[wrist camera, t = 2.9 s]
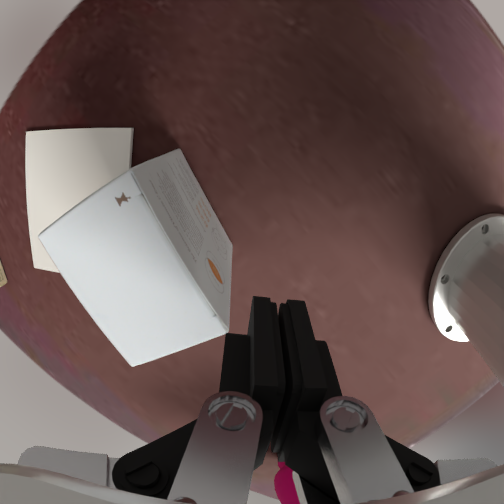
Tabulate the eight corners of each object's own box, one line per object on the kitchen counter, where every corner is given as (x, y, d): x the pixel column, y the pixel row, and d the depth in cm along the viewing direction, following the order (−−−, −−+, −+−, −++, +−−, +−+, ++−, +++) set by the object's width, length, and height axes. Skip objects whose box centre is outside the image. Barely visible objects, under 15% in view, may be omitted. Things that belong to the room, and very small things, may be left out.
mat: (133, 127, 20) (131, 127, 20) (131, 282, 24) (129, 285, 24) (29, 131, 20) (26, 131, 19) (36, 265, 24) (34, 267, 24)
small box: (115, 185, 21) (31, 233, 11) (181, 146, 20) (128, 163, 10) (169, 277, 24) (130, 372, 14) (235, 246, 23) (230, 336, 13)
